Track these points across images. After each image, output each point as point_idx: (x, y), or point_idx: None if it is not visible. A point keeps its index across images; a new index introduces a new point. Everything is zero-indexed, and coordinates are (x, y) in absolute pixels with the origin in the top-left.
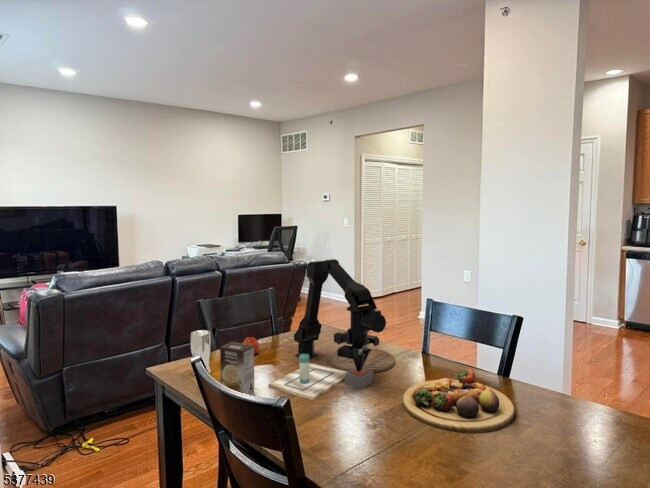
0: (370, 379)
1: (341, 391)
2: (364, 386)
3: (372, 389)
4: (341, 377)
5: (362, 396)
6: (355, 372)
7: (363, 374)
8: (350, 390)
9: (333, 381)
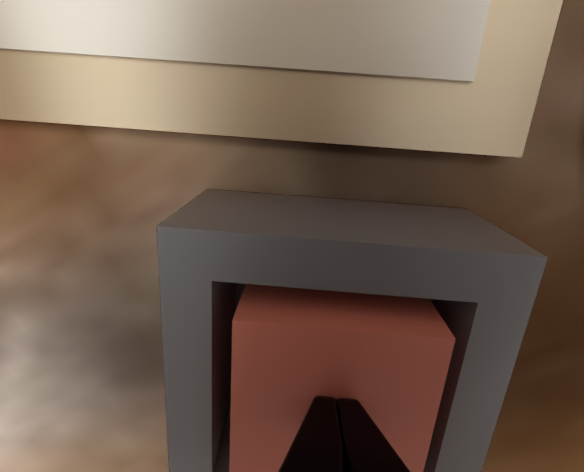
0: None
1: (6, 253)
2: None
3: None
4: (273, 95)
5: (54, 448)
6: (233, 398)
7: None
8: (89, 319)
9: (73, 64)
